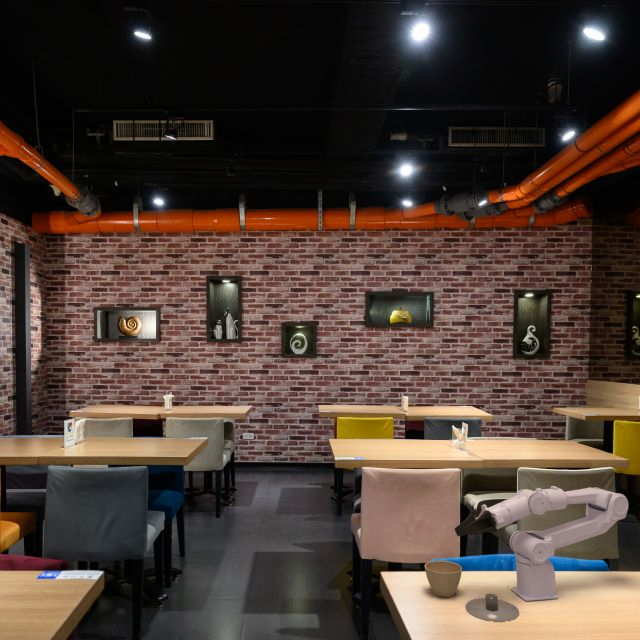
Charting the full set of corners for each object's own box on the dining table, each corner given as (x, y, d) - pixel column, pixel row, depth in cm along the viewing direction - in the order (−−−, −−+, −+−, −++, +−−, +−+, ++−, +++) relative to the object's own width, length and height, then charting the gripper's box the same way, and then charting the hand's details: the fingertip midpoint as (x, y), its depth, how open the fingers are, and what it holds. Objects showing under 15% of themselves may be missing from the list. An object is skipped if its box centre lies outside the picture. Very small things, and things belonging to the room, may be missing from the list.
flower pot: (464, 602, 139) (463, 574, 140) (425, 599, 141) (424, 571, 142) (461, 587, 149) (460, 561, 150) (425, 585, 151) (424, 559, 152)
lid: (503, 599, 142) (502, 584, 142) (529, 621, 129) (528, 604, 130) (457, 603, 140) (456, 588, 140) (479, 626, 127) (478, 609, 128)
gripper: (486, 501, 152) (445, 518, 149) (509, 496, 139) (465, 514, 135) (497, 525, 150) (456, 544, 146) (522, 523, 137) (478, 542, 133)
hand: (461, 531), depth 141 cm, fingers open, 7 cm apart
